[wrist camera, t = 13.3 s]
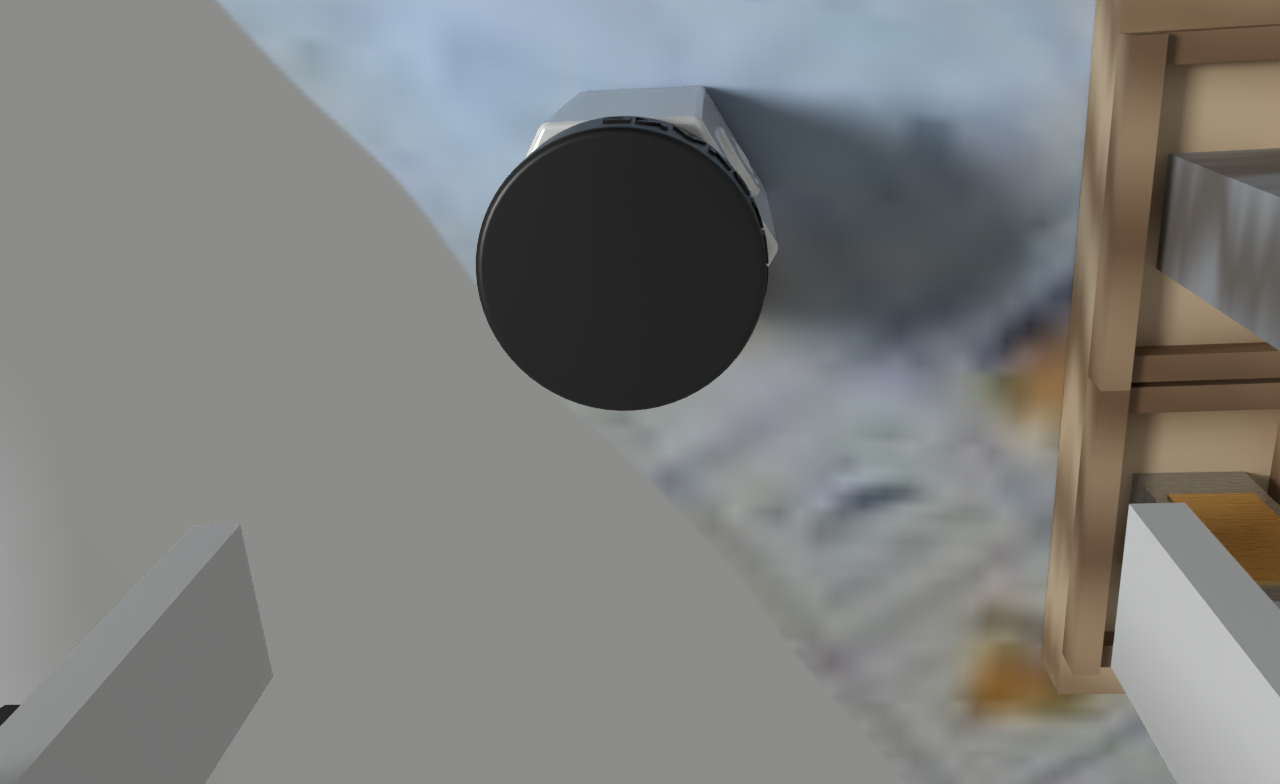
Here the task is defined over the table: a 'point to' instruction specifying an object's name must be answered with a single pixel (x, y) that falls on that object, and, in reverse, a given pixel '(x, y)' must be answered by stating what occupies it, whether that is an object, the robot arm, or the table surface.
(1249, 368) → the light wooden long frame
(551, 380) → the jar
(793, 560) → the table surface
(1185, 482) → the grey rectangular prism
